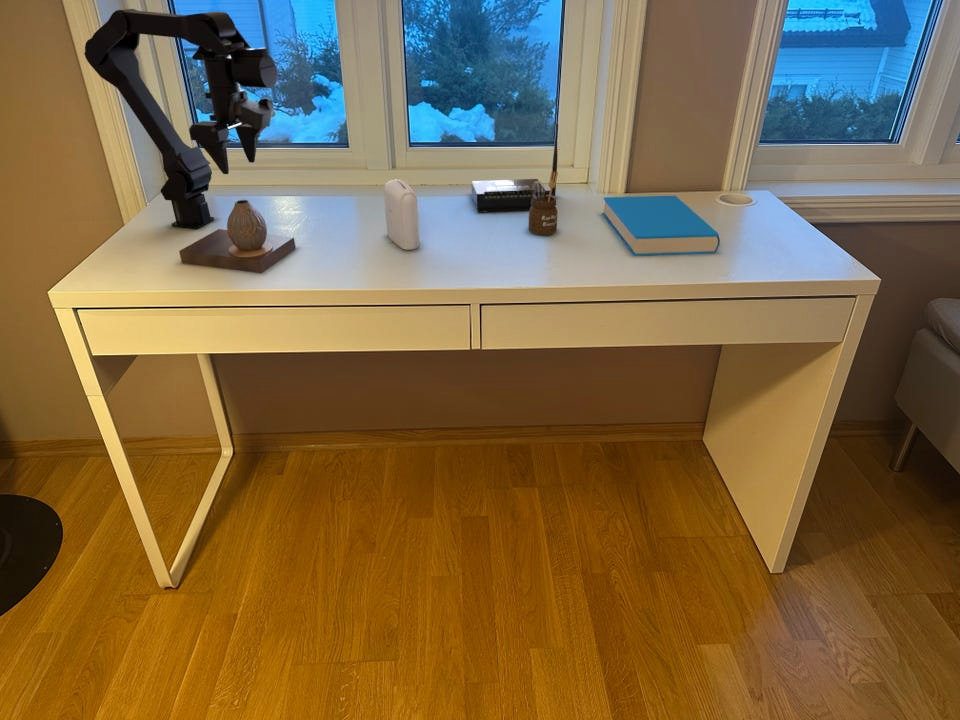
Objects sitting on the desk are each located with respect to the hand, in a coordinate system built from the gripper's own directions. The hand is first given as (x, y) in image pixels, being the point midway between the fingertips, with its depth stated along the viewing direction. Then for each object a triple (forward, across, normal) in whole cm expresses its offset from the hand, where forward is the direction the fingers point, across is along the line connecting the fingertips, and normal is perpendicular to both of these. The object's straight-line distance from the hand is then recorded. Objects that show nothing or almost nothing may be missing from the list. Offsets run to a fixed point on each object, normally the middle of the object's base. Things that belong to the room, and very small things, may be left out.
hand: (239, 168), depth 137 cm
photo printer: (+13, +2, -34) cm, 37 cm away
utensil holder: (+13, +16, -60) cm, 63 cm away
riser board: (+13, -14, -6) cm, 20 cm away
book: (+13, +22, -83) cm, 87 cm away
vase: (+10, -15, -10) cm, 21 cm away
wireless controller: (+13, +34, -50) cm, 62 cm away
